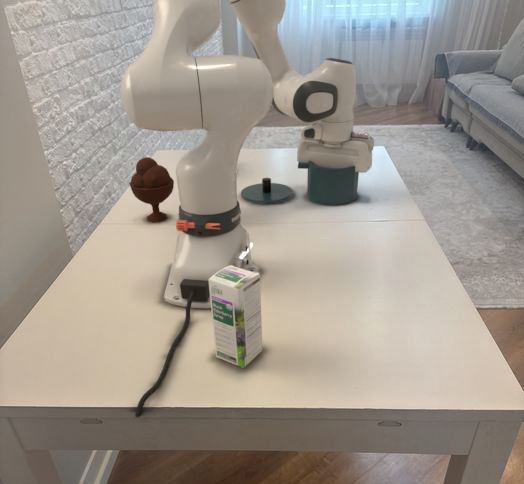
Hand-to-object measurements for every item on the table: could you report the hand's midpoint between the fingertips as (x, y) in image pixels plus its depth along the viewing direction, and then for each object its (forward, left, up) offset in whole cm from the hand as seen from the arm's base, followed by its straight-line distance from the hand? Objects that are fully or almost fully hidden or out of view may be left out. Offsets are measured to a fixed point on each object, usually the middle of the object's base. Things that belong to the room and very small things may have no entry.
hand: (332, 184), depth 134 cm
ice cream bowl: (-20, +44, -4) cm, 48 cm away
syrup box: (-74, +11, -4) cm, 75 cm away
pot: (0, 0, -3) cm, 3 cm away
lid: (-1, +18, -3) cm, 18 cm away
